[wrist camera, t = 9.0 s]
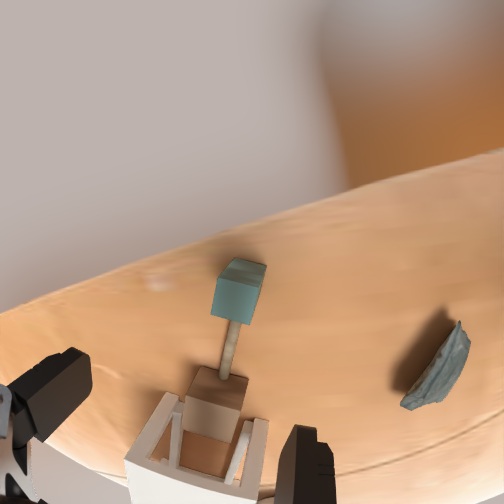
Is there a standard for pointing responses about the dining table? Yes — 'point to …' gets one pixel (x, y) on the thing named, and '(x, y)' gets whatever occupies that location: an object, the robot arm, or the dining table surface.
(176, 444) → the white open frame stand
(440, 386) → the stone
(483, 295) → the dining table surface
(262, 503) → the pump dispenser
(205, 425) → the tethered block
